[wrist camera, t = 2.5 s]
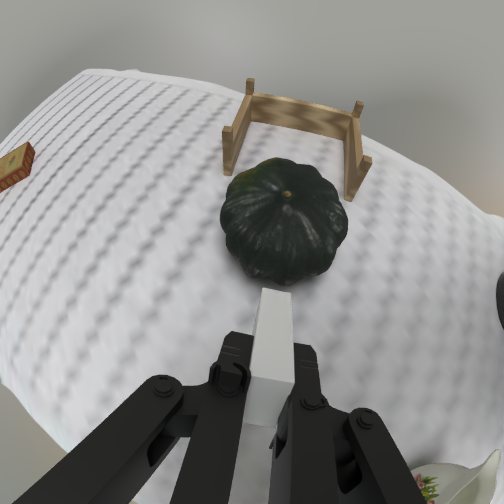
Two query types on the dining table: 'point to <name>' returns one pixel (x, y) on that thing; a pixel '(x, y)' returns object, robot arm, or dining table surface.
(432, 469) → the pitcher
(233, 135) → the rack
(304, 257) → the squash
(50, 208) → the dining table surface
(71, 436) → the dining table surface
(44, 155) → the dining table surface
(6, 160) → the carton
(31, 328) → the dining table surface
